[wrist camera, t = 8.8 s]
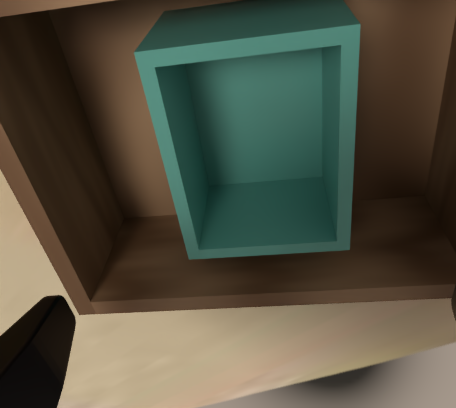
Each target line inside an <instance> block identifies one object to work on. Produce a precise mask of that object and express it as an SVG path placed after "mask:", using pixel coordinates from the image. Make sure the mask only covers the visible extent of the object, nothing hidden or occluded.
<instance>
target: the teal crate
mask: <svg viewBox="0 0 456 408" xmlns="http://www.w3.org/2000/svg"><path fill="white" fill-rule="evenodd" d="M360 25H361V24H360V23H359V21H358V20H357V18H356V17H355V16H354V14H353V13H352V12H351V10H350V9H349V7H348V6H347V5H346V3H345V2H344V1H343V0H242V1H234V2H227V3H220V4H212V5H205V6H198V7H190V8H183V9H176V10H168V11H164V12H163V13H162V15H161V16H160V17H159V19H158V20H157V21H156V23H155V24H154V26H153V27H152V28H151V30H150V31H149V32H148V34H147V35H146V36H145V38H144V39H143V41H142V42H141V43H140V45H139V46H138V47H137V49H136V50H135V51H134V55H135V59H136V63H137V66H138V70H139V74H140V78H141V81H142V85H143V89H144V93H145V96H146V100H147V104H148V108H149V111H150V115H151V119H152V123H153V126H154V130H155V134H156V138H157V141H158V145H159V149H160V153H161V157H162V160H163V164H164V168H165V172H166V175H167V179H168V183H169V187H170V190H171V194H172V198H173V202H174V205H175V209H176V213H177V217H178V220H179V224H180V228H181V232H182V236H183V239H184V243H185V247H186V251H187V254H188V258H189V260H192V259H209V258H225V257H242V256H259V255H276V254H292V253H309V252H326V251H343V250H350V236H351V215H352V194H353V173H354V152H355V131H356V110H357V88H358V67H359V46H360Z"/></svg>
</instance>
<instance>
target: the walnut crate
mask: <svg viewBox="0 0 456 408" xmlns="http://www.w3.org/2000/svg"><path fill="white" fill-rule="evenodd" d="M234 1H242V0H0V169H1V171H2V173H3V175H4V177H5V178H6V180H7V182H8V184H9V186H10V188H11V189H12V191H13V193H14V195H15V197H16V199H17V201H18V202H19V204H20V206H21V208H22V210H23V212H24V214H25V215H26V217H27V219H28V221H29V223H30V225H31V226H32V228H33V230H34V232H35V234H36V236H37V238H38V239H39V241H40V243H41V245H42V247H43V249H44V251H45V252H46V254H47V256H48V258H49V260H50V262H51V263H52V265H53V267H54V269H55V271H56V273H57V275H58V276H59V278H60V280H61V282H62V284H63V286H64V288H65V289H66V291H67V293H68V295H69V297H70V299H71V300H72V302H73V304H74V306H75V308H76V310H77V312H78V313H79V315H86V314H108V313H130V312H152V311H174V310H196V309H218V308H240V307H262V306H284V305H306V304H328V303H351V302H373V301H395V300H417V299H439V298H452V295H453V291H454V288H455V284H456V0H343V1H344V2H345V3H346V5H347V6H348V7H349V9H350V10H351V12H352V13H353V14H354V16H355V17H356V18H357V20H358V21H359V23H360V24H361V25H360V46H359V67H358V88H357V110H356V131H355V152H354V173H353V194H352V215H351V236H350V250H343V251H326V252H309V253H292V254H276V255H259V256H242V257H225V258H209V259H192V260H189V258H188V254H187V251H186V247H185V243H184V239H183V236H182V232H181V228H180V224H179V220H178V217H177V213H176V209H175V205H174V202H173V198H172V194H171V190H170V187H169V183H168V179H167V175H166V172H165V168H164V164H163V160H162V157H161V153H160V149H159V145H158V141H157V138H156V134H155V130H154V126H153V123H152V119H151V115H150V111H149V108H148V104H147V100H146V96H145V93H144V89H143V85H142V81H141V78H140V74H139V70H138V66H137V63H136V59H135V55H134V51H135V50H136V49H137V47H138V46H139V45H140V43H141V42H142V41H143V39H144V38H145V36H146V35H147V34H148V32H149V31H150V30H151V28H152V27H153V26H154V24H155V23H156V21H157V20H158V19H159V17H160V16H161V15H162V13H163V12H164V11H168V10H176V9H183V8H190V7H198V6H205V5H212V4H220V3H227V2H234Z"/></svg>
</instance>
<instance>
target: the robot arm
mask: <svg viewBox="0 0 456 408" xmlns="http://www.w3.org/2000/svg"><path fill="white" fill-rule="evenodd" d="M451 304H452V310H453V313H454V317H455V320H456V284H455V288H454V291H453V295H452V300H451ZM75 326H76V320H75V316H74V314H73V312H72V311H71V309H70V307H69V305H68V303H67V302H66V300H65V298H64V297H63V296H60V295H57V296H46V297H44V298H42V299H41V300H40V301H39V302H38V303H37V304H36V305H34V306H33V307H32V308H31V309H30V310H29V311H28V312H27V313H25V314H24V315H23V316H22V317H21V318H20V319H19V320H18V321H17V322H15V323H14V324H13V325H12V326H11V327H10V328H9V329H8V330H6V331H5V332H4V333H3V334H2V335H1V336H0V408H57V405H58V402H59V399H60V396H61V392H62V389H63V385H64V380H65V376H66V371H67V366H68V361H69V356H70V351H71V346H72V341H73V336H74V331H75Z"/></svg>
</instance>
